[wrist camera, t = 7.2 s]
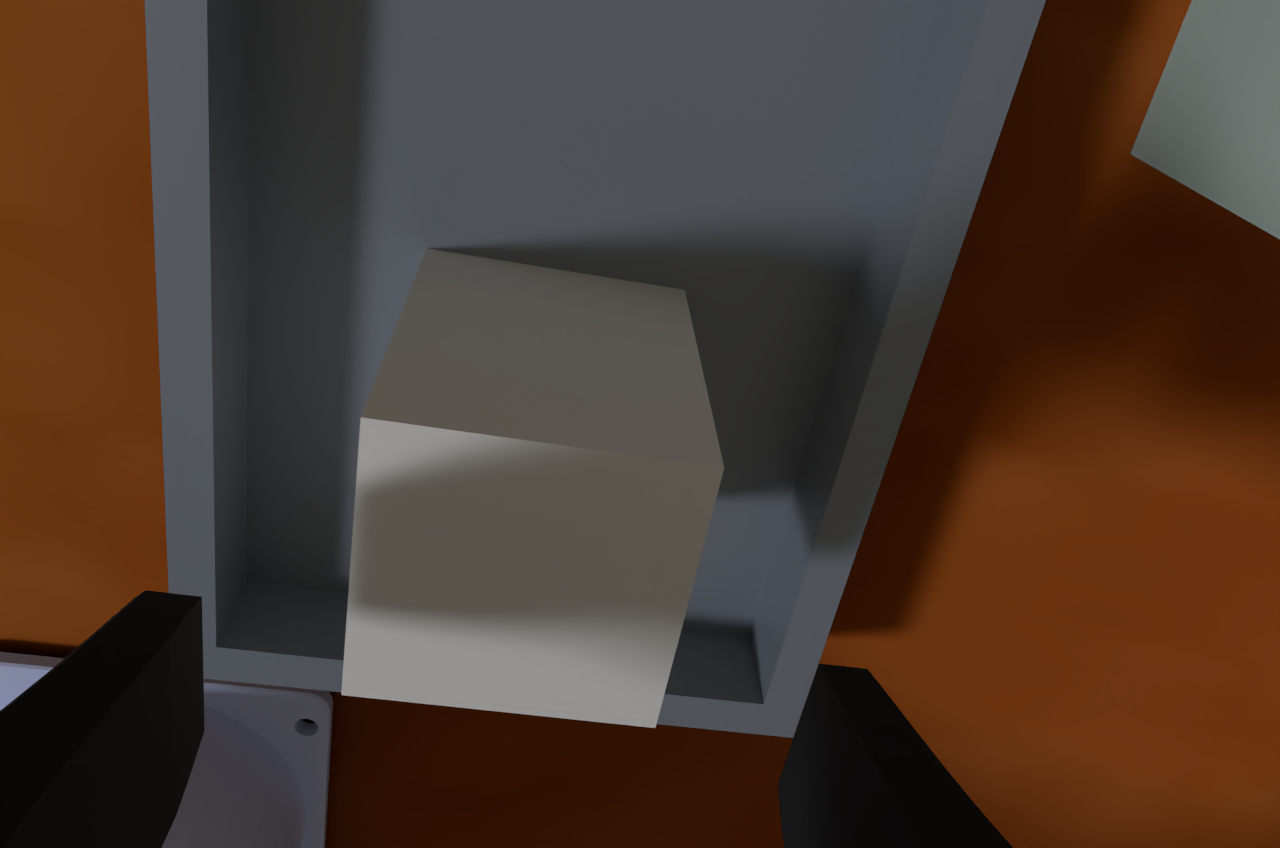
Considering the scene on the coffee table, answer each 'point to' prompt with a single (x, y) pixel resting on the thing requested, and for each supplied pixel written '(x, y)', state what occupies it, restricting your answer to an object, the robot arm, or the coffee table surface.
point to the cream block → (530, 494)
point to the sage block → (1222, 109)
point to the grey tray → (566, 240)
